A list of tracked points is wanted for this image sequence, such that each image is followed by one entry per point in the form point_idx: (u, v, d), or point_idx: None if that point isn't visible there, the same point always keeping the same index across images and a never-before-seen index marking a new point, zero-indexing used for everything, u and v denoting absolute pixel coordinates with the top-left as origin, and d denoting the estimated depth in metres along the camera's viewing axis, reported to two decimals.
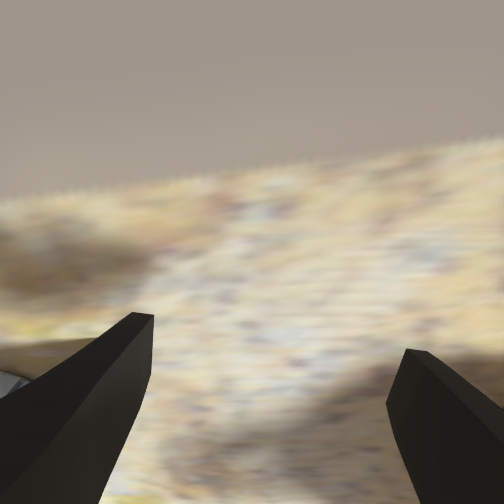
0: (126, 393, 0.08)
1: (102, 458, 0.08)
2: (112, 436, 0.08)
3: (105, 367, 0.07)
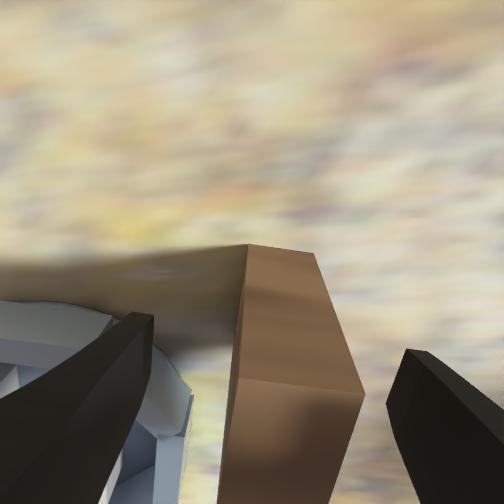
0: (126, 393, 0.08)
1: (102, 458, 0.08)
2: (112, 436, 0.08)
3: (105, 367, 0.07)
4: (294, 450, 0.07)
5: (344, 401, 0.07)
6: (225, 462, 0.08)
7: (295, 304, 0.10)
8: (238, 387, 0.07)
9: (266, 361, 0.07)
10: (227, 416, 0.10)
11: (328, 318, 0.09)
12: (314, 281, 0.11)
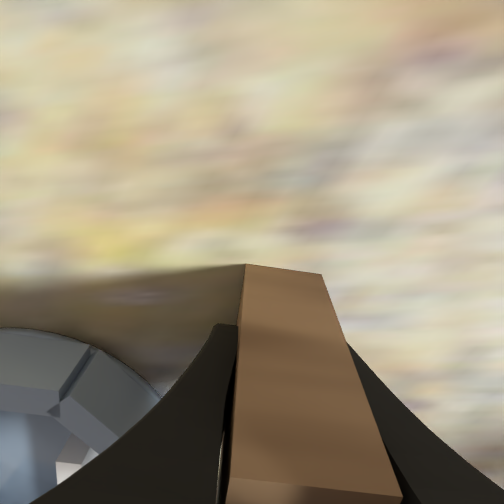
0: (227, 405, 0.09)
1: None
2: None
3: (225, 382, 0.07)
4: None
5: None
6: None
7: (303, 348, 0.08)
8: (229, 488, 0.05)
9: (267, 444, 0.06)
10: (219, 487, 0.08)
11: (345, 368, 0.07)
12: (324, 313, 0.09)
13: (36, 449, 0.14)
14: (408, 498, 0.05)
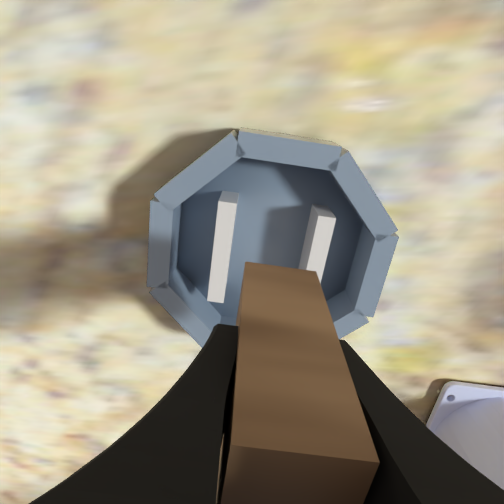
0: (227, 405, 0.09)
1: None
2: None
3: (225, 382, 0.07)
4: None
5: (354, 470, 0.06)
6: None
7: (297, 338, 0.09)
8: (230, 455, 0.06)
9: (263, 420, 0.06)
10: (220, 464, 0.09)
11: (334, 356, 0.08)
12: (317, 307, 0.10)
13: (267, 241, 0.19)
14: (408, 498, 0.05)
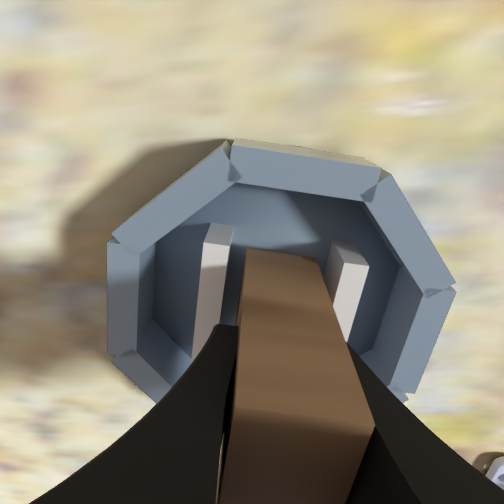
0: (227, 405, 0.09)
1: None
2: None
3: (225, 382, 0.07)
4: (296, 482, 0.07)
5: (351, 432, 0.06)
6: (220, 494, 0.07)
7: (297, 316, 0.09)
8: (234, 417, 0.06)
9: (265, 386, 0.07)
10: (224, 437, 0.09)
11: (333, 333, 0.09)
12: (316, 289, 0.10)
13: None
14: (408, 499, 0.05)
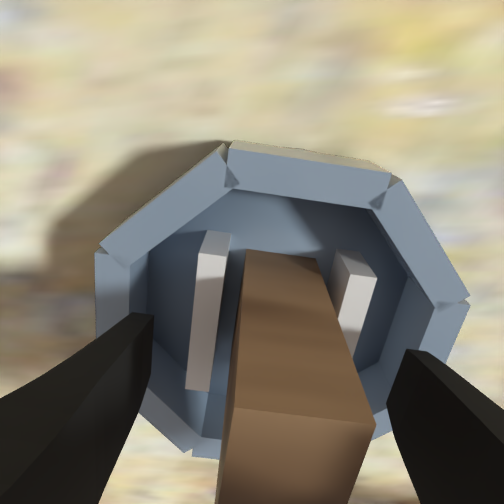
0: (126, 393, 0.08)
1: (102, 458, 0.08)
2: (112, 436, 0.08)
3: (105, 367, 0.07)
4: (296, 484, 0.07)
5: (353, 432, 0.06)
6: (220, 497, 0.07)
7: (297, 317, 0.09)
8: (233, 417, 0.06)
9: (265, 386, 0.07)
10: (223, 439, 0.09)
11: (333, 333, 0.08)
12: (317, 290, 0.10)
13: None
14: None
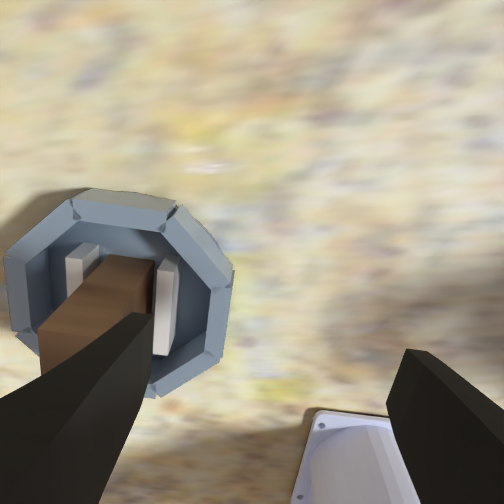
0: (126, 393, 0.08)
1: (102, 458, 0.08)
2: (112, 436, 0.08)
3: (105, 367, 0.07)
4: None
5: None
6: None
7: (107, 293, 0.16)
8: (38, 334, 0.13)
9: (59, 322, 0.14)
10: None
11: (122, 301, 0.16)
12: (135, 279, 0.18)
13: None
14: None
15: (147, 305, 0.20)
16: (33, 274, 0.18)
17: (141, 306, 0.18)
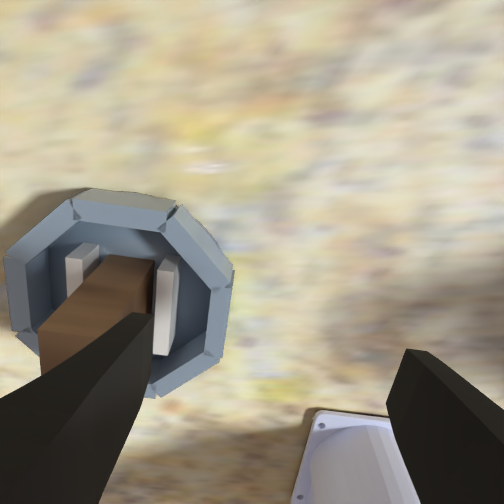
0: (126, 393, 0.08)
1: (102, 458, 0.08)
2: (112, 436, 0.08)
3: (105, 367, 0.07)
4: None
5: None
6: None
7: (107, 293, 0.16)
8: (38, 335, 0.13)
9: (59, 322, 0.14)
10: None
11: (122, 301, 0.16)
12: (135, 279, 0.18)
13: None
14: None
15: (147, 305, 0.20)
16: (33, 274, 0.18)
17: (141, 306, 0.18)
